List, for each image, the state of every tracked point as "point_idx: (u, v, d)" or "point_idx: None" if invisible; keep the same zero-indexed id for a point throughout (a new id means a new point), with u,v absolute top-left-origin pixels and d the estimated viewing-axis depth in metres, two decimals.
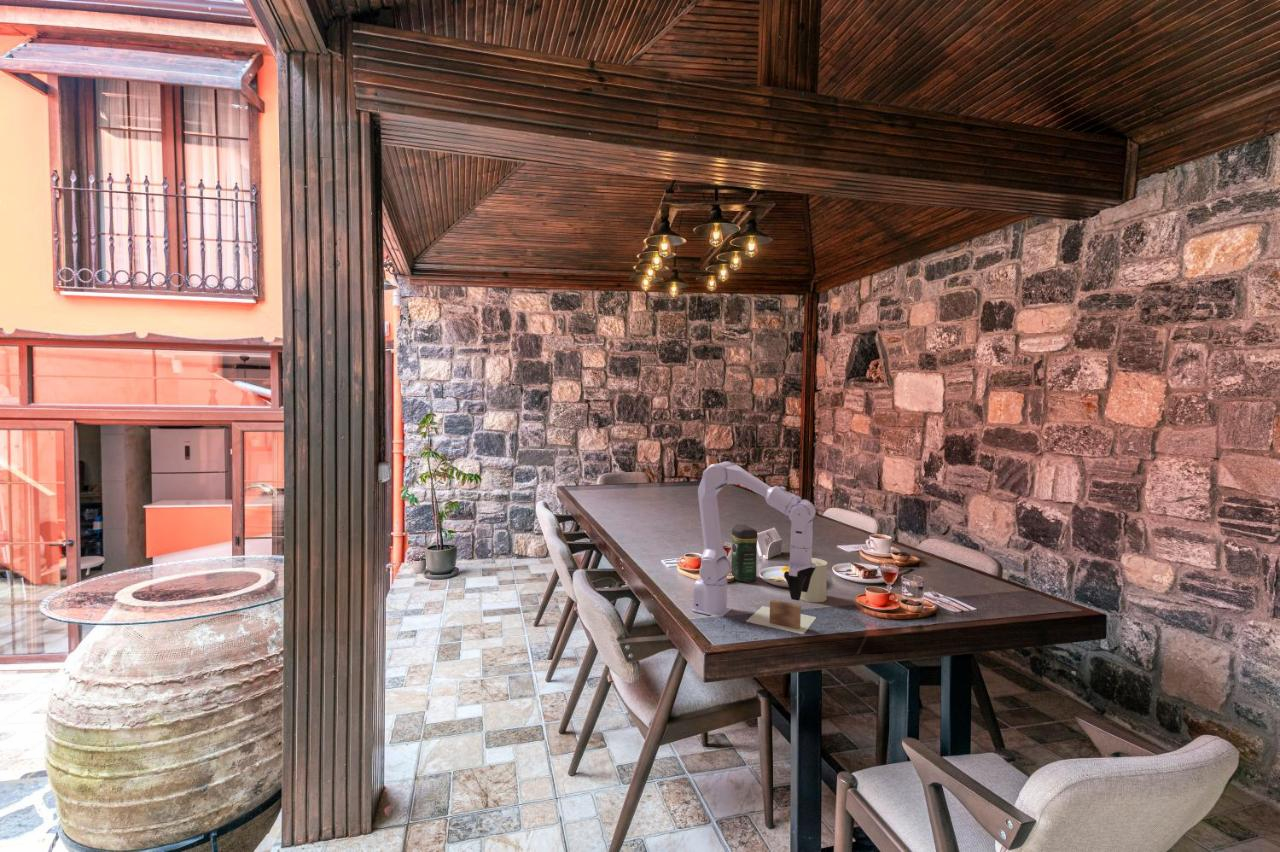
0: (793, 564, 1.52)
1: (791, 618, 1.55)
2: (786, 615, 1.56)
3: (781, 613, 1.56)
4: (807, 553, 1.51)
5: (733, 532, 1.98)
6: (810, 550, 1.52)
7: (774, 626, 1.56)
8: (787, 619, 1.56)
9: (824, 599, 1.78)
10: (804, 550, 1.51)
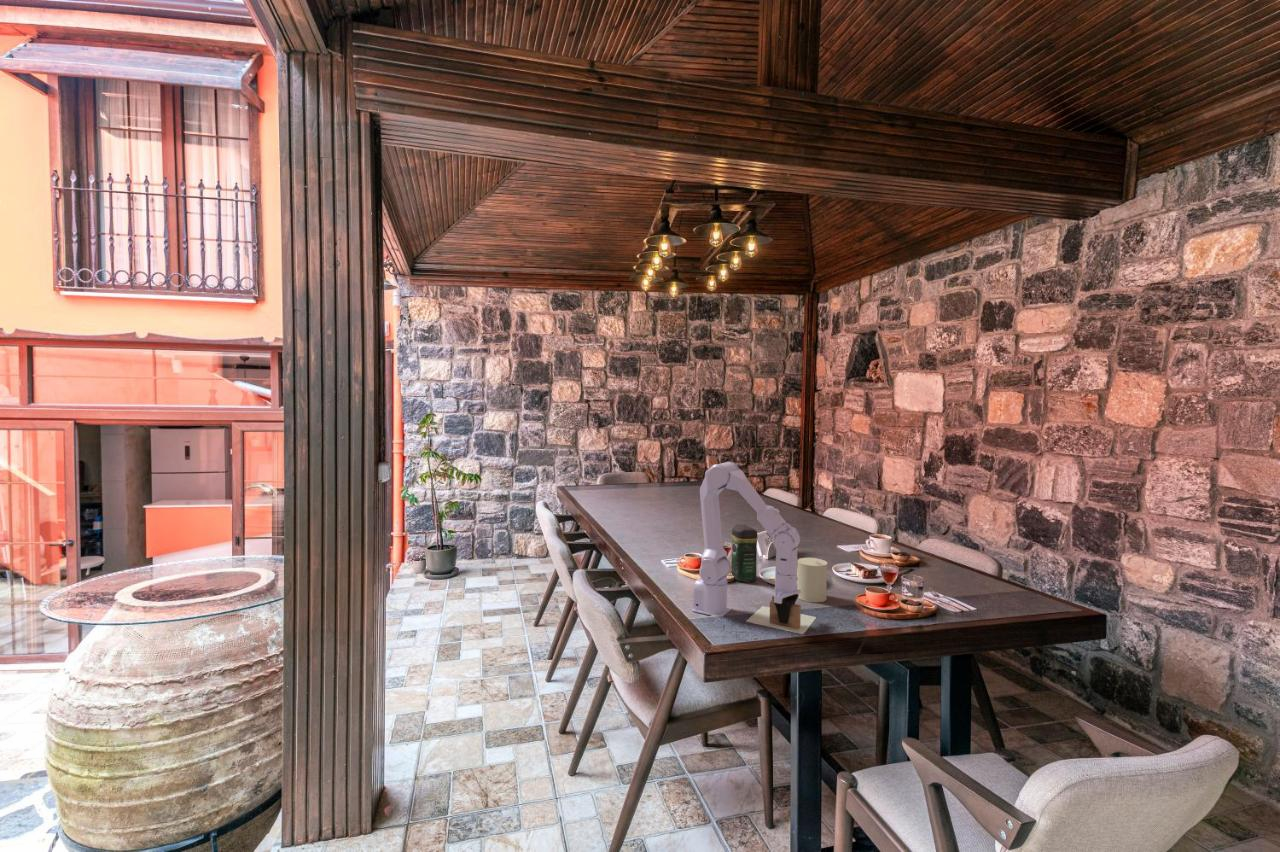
0: (778, 591, 1.55)
1: (791, 618, 1.55)
2: None
3: None
4: (792, 580, 1.54)
5: (733, 532, 1.98)
6: (795, 577, 1.54)
7: (774, 626, 1.56)
8: None
9: (824, 599, 1.78)
10: (789, 577, 1.53)
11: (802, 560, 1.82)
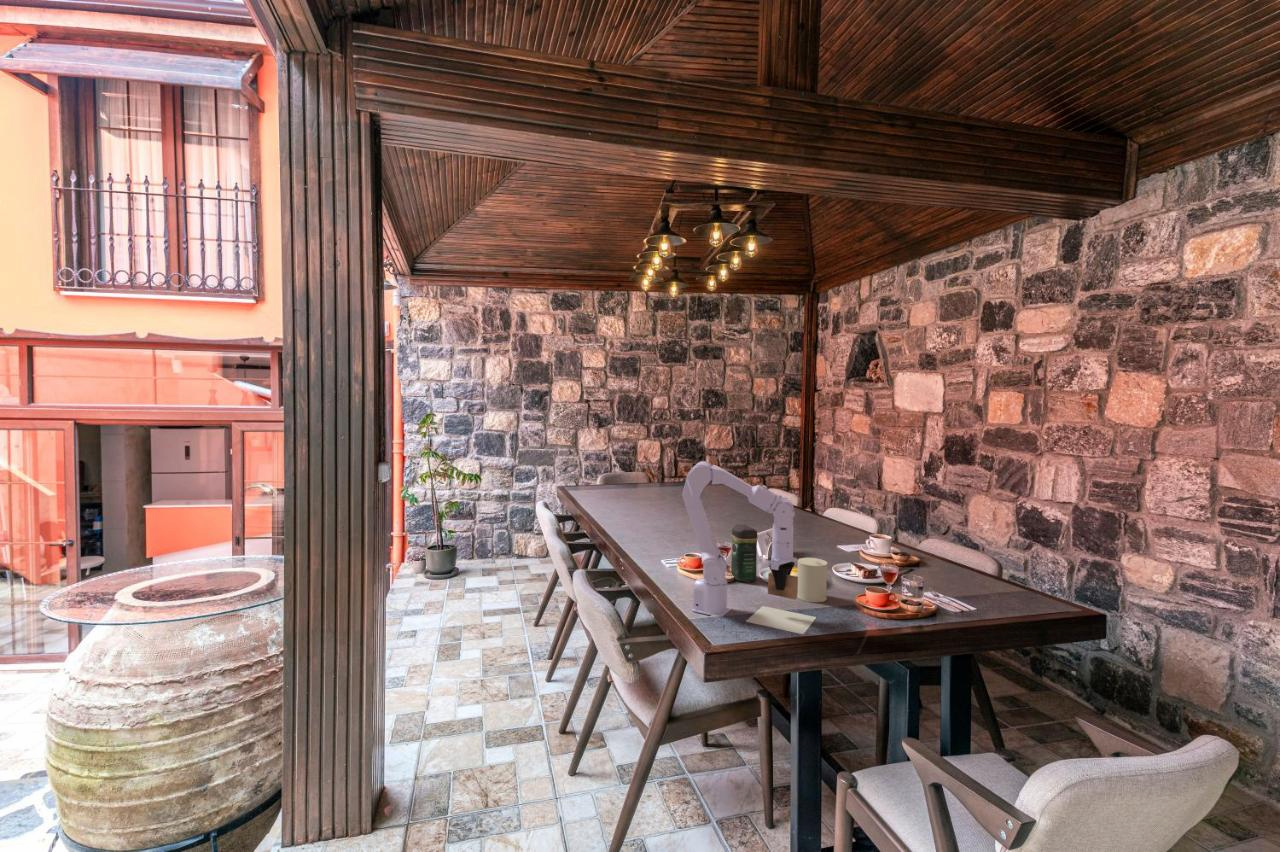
0: (775, 559, 1.61)
1: (788, 589, 1.61)
2: None
3: None
4: (788, 548, 1.60)
5: (733, 532, 1.98)
6: (791, 545, 1.61)
7: (774, 626, 1.56)
8: (785, 590, 1.62)
9: (824, 599, 1.78)
10: (785, 545, 1.60)
11: (802, 560, 1.82)
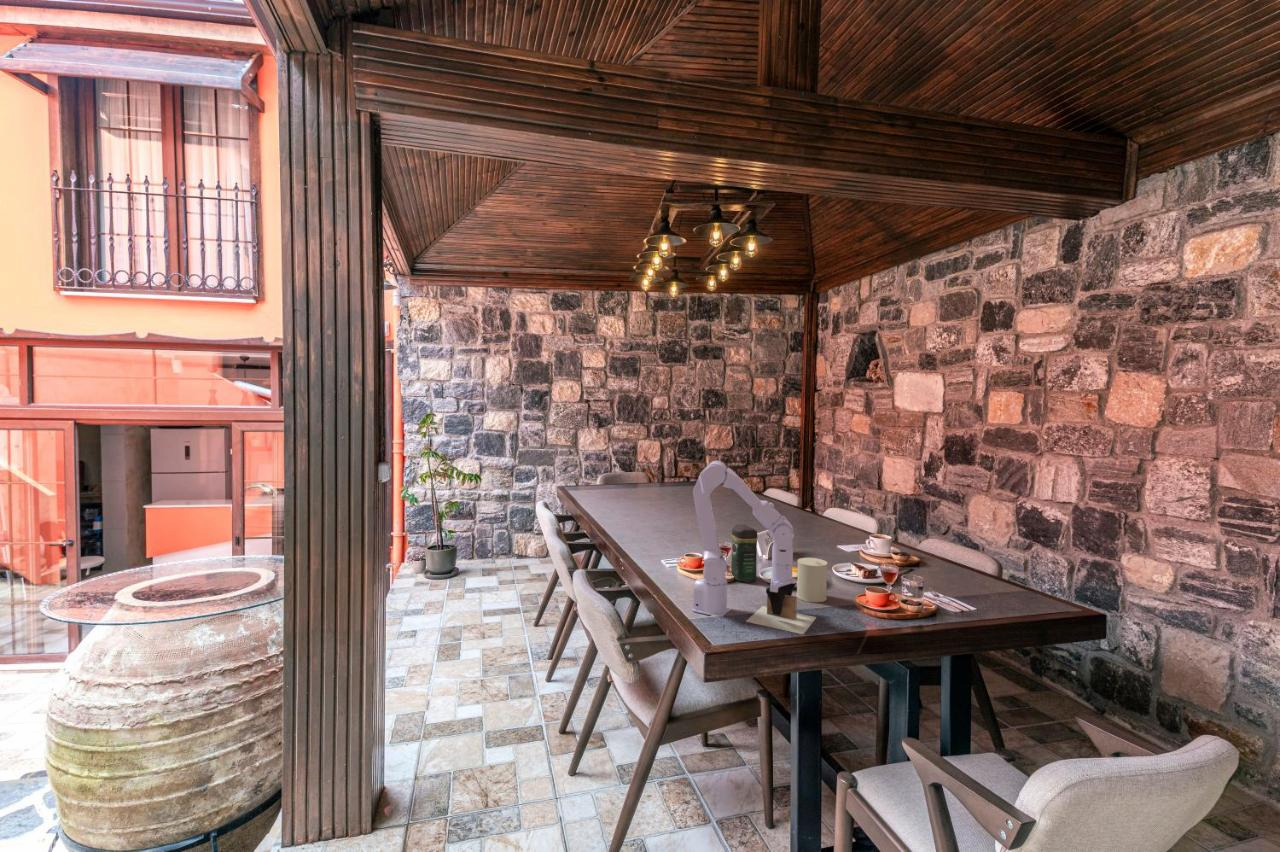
0: (774, 580, 1.61)
1: (787, 609, 1.61)
2: (783, 606, 1.62)
3: None
4: (787, 570, 1.60)
5: (733, 532, 1.98)
6: (790, 567, 1.61)
7: (774, 626, 1.56)
8: (784, 610, 1.62)
9: (824, 599, 1.78)
10: (785, 567, 1.60)
11: (802, 560, 1.82)
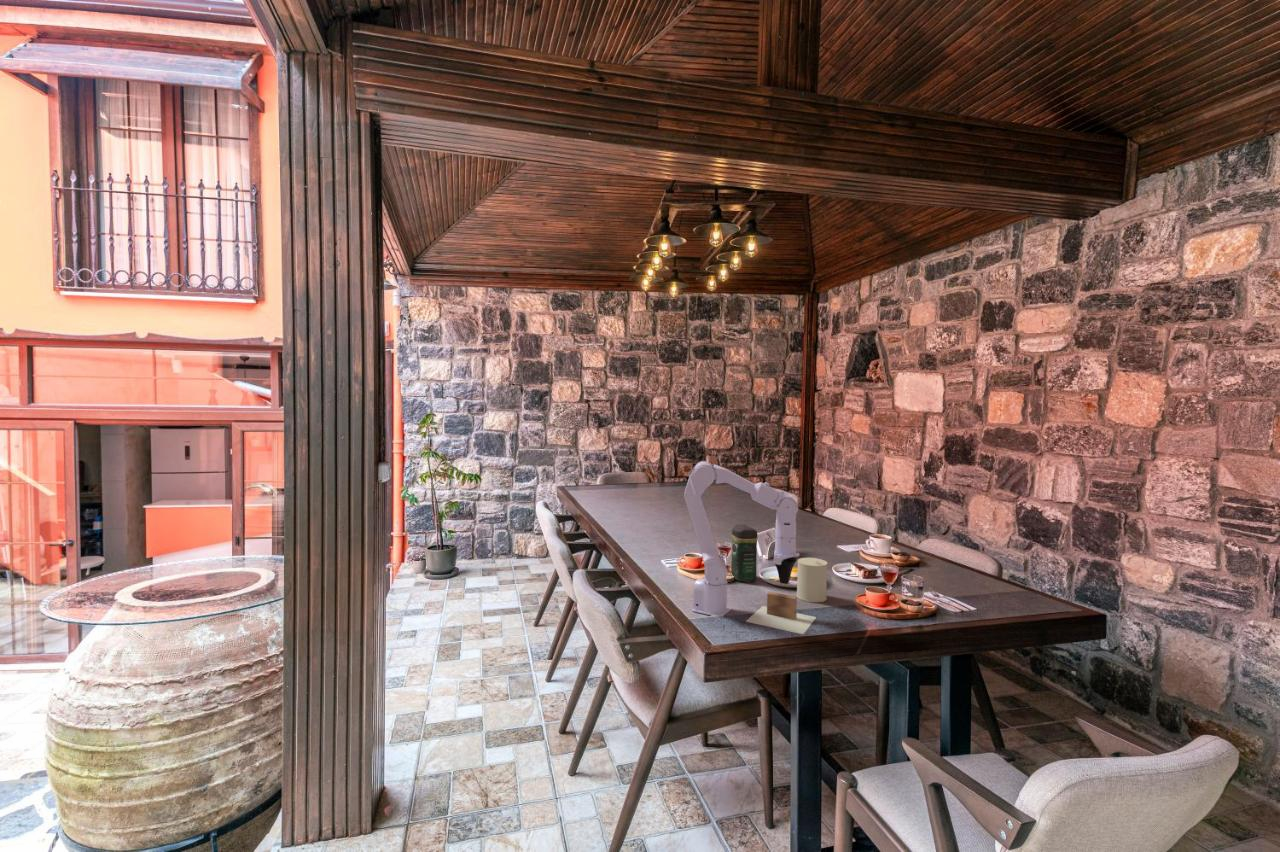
0: (778, 553, 1.63)
1: (787, 609, 1.61)
2: (783, 606, 1.62)
3: (778, 604, 1.63)
4: (790, 543, 1.62)
5: (733, 532, 1.98)
6: (793, 540, 1.62)
7: (774, 626, 1.56)
8: (784, 610, 1.62)
9: (824, 599, 1.78)
10: (788, 540, 1.62)
11: (802, 560, 1.82)
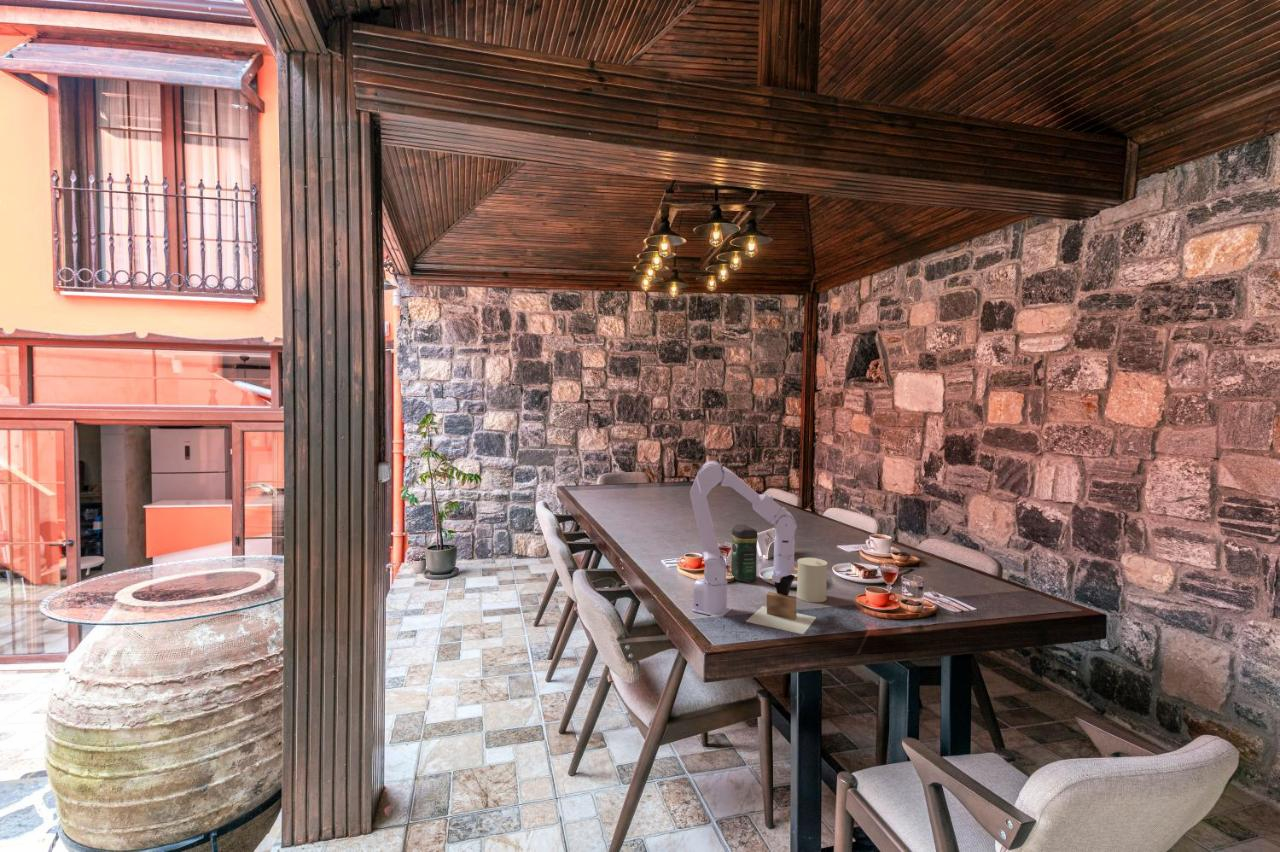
0: (776, 571, 1.63)
1: (787, 609, 1.61)
2: (782, 607, 1.62)
3: (777, 605, 1.63)
4: (789, 561, 1.62)
5: (733, 532, 1.98)
6: (792, 558, 1.62)
7: (774, 626, 1.56)
8: (783, 610, 1.62)
9: (824, 599, 1.78)
10: (786, 558, 1.61)
11: (802, 560, 1.82)
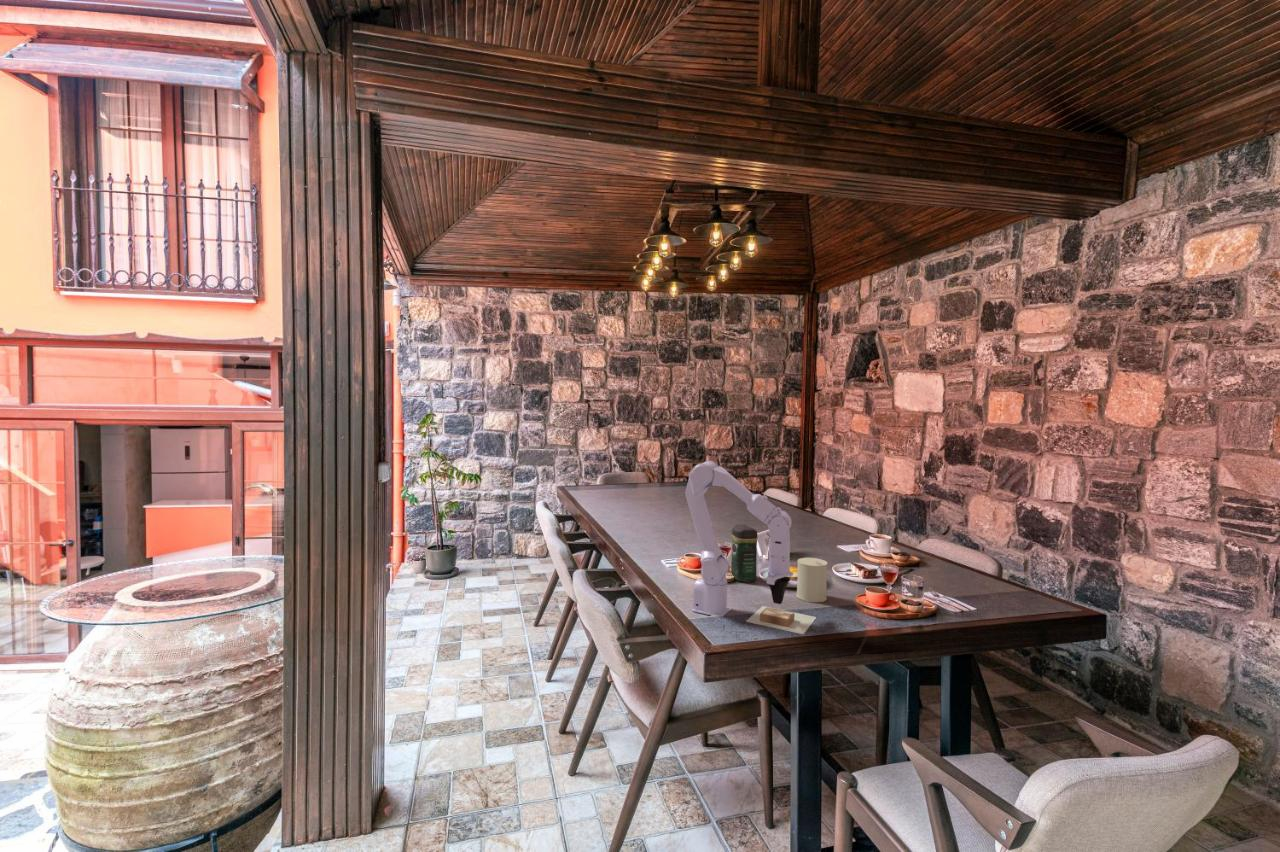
0: (771, 573, 1.59)
1: None
2: None
3: None
4: (784, 563, 1.58)
5: (733, 532, 1.98)
6: (787, 559, 1.58)
7: (774, 626, 1.56)
8: None
9: (824, 599, 1.78)
10: (781, 559, 1.57)
11: (802, 560, 1.82)
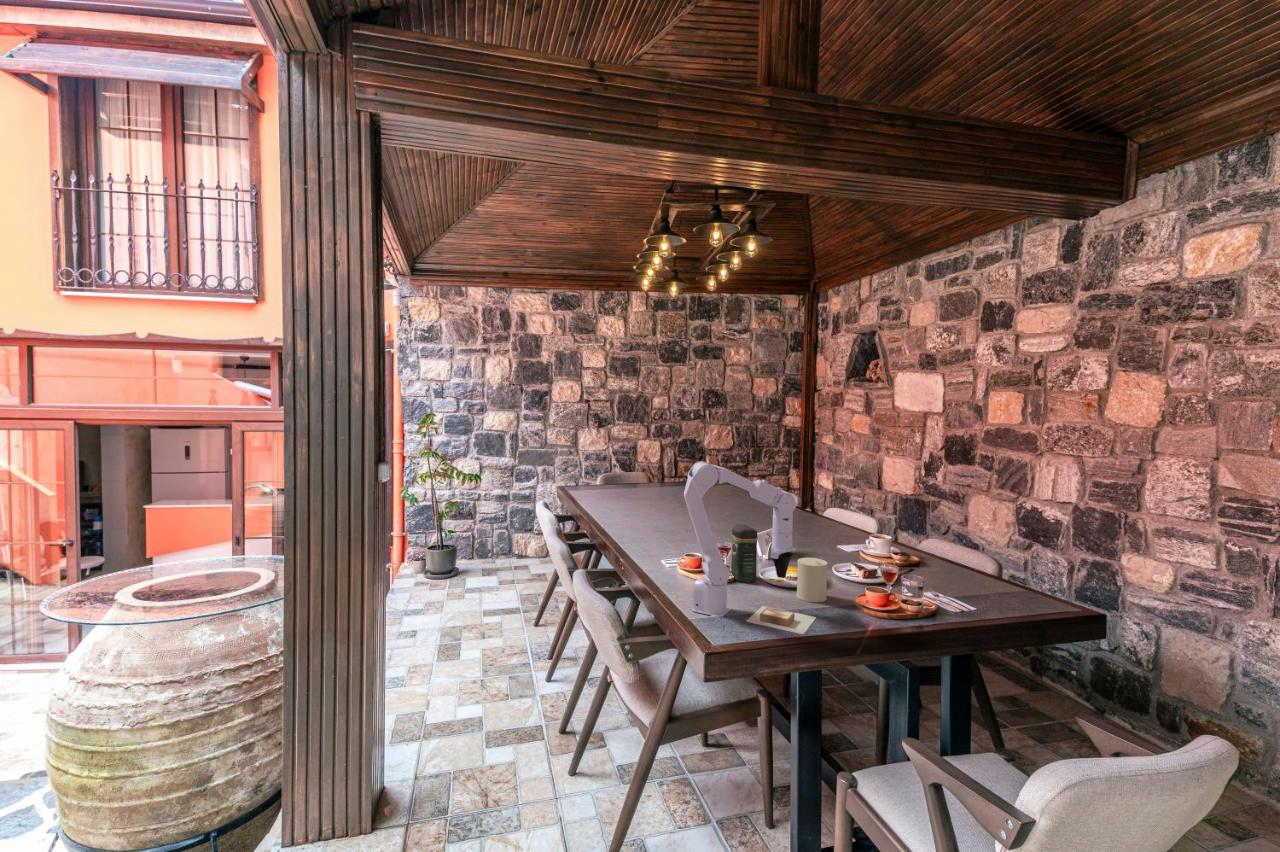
0: (775, 548, 1.67)
1: None
2: None
3: None
4: (787, 538, 1.66)
5: (733, 532, 1.98)
6: (790, 535, 1.67)
7: (774, 626, 1.56)
8: None
9: (824, 599, 1.78)
10: (785, 535, 1.66)
11: (802, 560, 1.82)
